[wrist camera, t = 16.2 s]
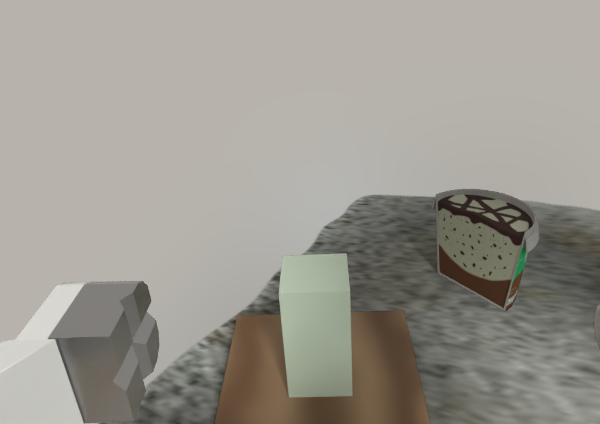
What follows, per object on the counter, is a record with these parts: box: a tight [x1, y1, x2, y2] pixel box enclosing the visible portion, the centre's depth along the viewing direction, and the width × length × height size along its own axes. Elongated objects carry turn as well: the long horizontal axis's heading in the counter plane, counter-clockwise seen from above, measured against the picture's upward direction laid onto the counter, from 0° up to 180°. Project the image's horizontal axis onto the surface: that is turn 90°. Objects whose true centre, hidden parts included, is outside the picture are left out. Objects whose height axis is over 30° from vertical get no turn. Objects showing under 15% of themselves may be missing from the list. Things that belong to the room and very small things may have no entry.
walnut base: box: [214, 310, 430, 424], centre depth 45 cm, size 16×16×4 cm
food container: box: [432, 189, 539, 312], centre depth 58 cm, size 12×6×10 cm, turn 34°
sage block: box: [279, 253, 353, 398], centre depth 42 cm, size 5×5×10 cm
